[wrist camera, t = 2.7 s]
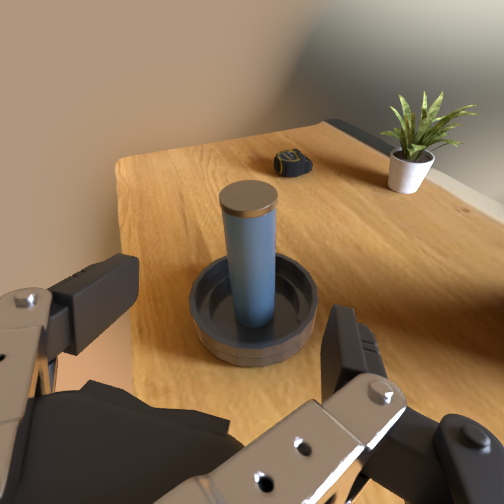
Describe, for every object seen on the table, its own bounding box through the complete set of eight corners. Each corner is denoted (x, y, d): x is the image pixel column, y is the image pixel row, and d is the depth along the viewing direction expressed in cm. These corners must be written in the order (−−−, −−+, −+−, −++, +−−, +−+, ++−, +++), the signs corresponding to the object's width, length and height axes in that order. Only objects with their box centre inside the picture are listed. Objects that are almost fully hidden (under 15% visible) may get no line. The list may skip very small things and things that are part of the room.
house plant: (453, 217, 50) (504, 111, 39) (364, 205, 54) (389, 105, 43) (442, 176, 60) (480, 83, 49) (368, 168, 64) (388, 80, 53)
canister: (251, 289, 39) (245, 174, 29) (283, 308, 37) (289, 190, 26) (224, 313, 37) (206, 197, 26) (257, 336, 34) (251, 217, 24)
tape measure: (313, 176, 62) (314, 159, 59) (281, 183, 60) (282, 165, 58) (298, 163, 67) (299, 146, 64) (268, 168, 65) (268, 151, 63)
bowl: (248, 257, 45) (246, 236, 42) (336, 305, 37) (341, 283, 35) (170, 321, 37) (162, 299, 34) (264, 398, 30) (263, 378, 27)
